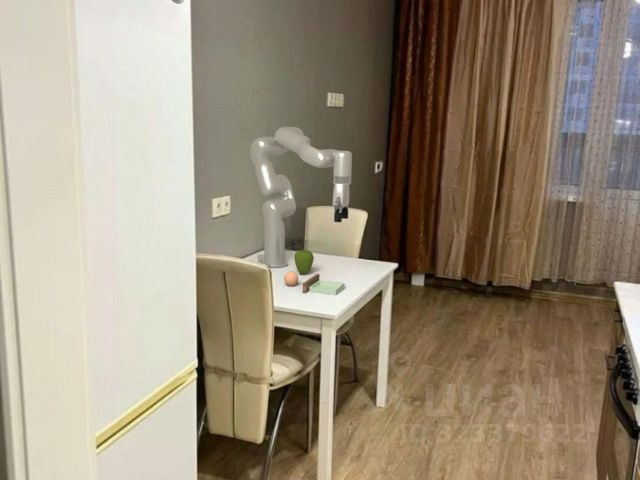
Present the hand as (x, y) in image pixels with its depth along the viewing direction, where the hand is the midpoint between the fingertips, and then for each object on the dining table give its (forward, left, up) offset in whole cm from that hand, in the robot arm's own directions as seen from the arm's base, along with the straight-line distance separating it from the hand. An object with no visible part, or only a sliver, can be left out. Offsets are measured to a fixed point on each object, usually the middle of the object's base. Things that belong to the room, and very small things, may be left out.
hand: (341, 220), depth 258 cm
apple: (-17, +1, -26) cm, 31 cm away
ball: (-15, -18, -26) cm, 35 cm away
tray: (+1, -18, -26) cm, 32 cm away
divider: (-6, -18, -26) cm, 32 cm away
